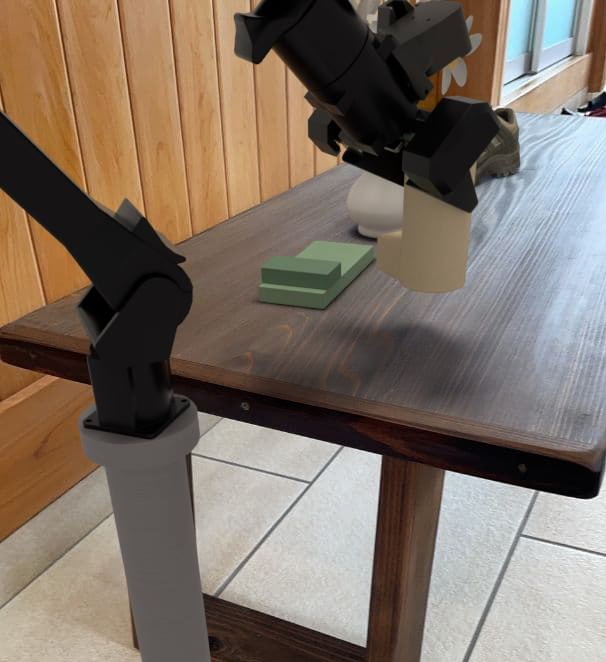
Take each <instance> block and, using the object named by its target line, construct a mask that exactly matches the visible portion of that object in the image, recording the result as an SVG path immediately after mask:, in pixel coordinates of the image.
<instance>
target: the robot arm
mask: <svg viewBox="0 0 606 662" xmlns="http://www.w3.org/2000/svg"><path fill="white" fill-rule="evenodd" d="M377 15H378V17H377V33H373V32H372V30H371V29H370V28H369V26H368V25H367V24H366V23H365V21H364V20H363V19H362V17H361V16H360V15H359V13H358V12H357V11H356V9H355V8H354V7H353V5H352V4H351V3H350V1H349V0H260V1H259V3H258V4H257V5H256V6H255V8H254V9H253V10H251V11H249V12H235V13H234V14H233V17H232V18H233V22H234V26H235V34H234V45H233V53H234V55H235V56H236V57H237V58H239V59H242V60H244V61H246V62H248V63H250V64H254V65H257V66H258V65H260V64H261V63H263V61H264V59H265V58H266V57H267V55H268V54H269V53H270V52H271V50H272V51H273V52H274V53H275V55H276V56H277V58H279V59H280V60H281V61H282V63H283V64H284V65H285V66H286V67H287V69H288V70H290V72H291V73H292V74H293V75H294V76H295V77H296V79H297V80H298V81H299V82H300V83H301V85H302V86H303V87H304V88H305V89H306V90H307V92H306V93H305V94H304V96H303V98H304V99H305V100H306V102H307V103H308V104H309V105H310V106H311V108H315V109H314V110H313V111H312V113H311V114H310V116H309V117H308V118H307V138H309V140H310V141H311V142H312V143H313V144H314V146H315V147H317V148H318V149H319V151H320V152H321V153H324V154H326V155H330V156H332V157H335V158H337V157H338V156H339V155H340V153H341V152H342V150H341V146H340V145H339V144H341V145H342V146H343V148H344V149H345V150H344V152H343V153H342V156H341V160H342V161H343V163H345V164H348V165H350V166H353V167H355V168H357V169H359V170H362V171H363V172H364V171H367V172H369V173H371V174H374V175H376V176H378V177H381V178H383V179H385V180H388V181H390V182H393V183H395V184H397V185H399V186H402V187H404V177H405V174H406V175H407V176H408V177H409V179H408V180H407V182H406V183H405V184H406V185H407V186H409V187H411V188H414V189H416V190H418V191H420V192H422V193H425V194H427V195H429V196H432V197H434V198H436V199H438V200H440V201H443V202H445V203H447V204H449V205H451V206H454V207H456V208H458V209H460V210H463V211H465V212H467V213H471V212H472V213H473V211H474V210H475V209H476V208H477V206H478V204H479V199H478V195H477V192H476V191H477V190H476V188H475V185H474V183H473V180H472V176H471V172H470V169H471V167H472V166H473V165H474V163H475V162H476V161H477V159H478V158H479V157H480V156H481V154H482V153H483V152H484V150H485V149H486V148H487V146H488V145H489V144H490V142H491V141H492V140H493V139H494V137H495V136H496V135H497V133H498V132H499V131H500V127H501V121H500V120H499V118H498V117H497V115H496V114H495V112H494V111H495V110H493V107H492V108H491V106H490V105H489V104H488V103H489V102H488V101H487V102H485V101H486V100H480V99H475V98H472V97H471V98H470V97H466V96H461V95H450V96H443V97H441V99H440V100H439V101H438V102H437V104H436V105H435V107H434V108H433V109H432V110H428V109H424V108H420V107H419V105H418V104H419V103H420V102H421V101H425V100H427V98H428V97H429V95H430V93H431V92H432V91H433V90H434V88H435V85H434V84H433V82H432V81H431V80H430V78H431V77H432V76H435V75H436V74H437V73H439V72H440V71H442V70H443V68H444V67H446V66H447V65H448V64H450V63H451V62H453V61H454V60H456V59H457V58H458V57H460V58H461V59H463V58H465V57H467V56H468V55H467V54H469V53H470V52H471V50H472V44H471V40H470V36H471V35H470V33H469V32H470V31H469V32H468V28H467V24H466V20H467V19H466V17H465V12H464V9H463V5H462V2H460V1H455V0H454V1H452V0H430V1H427V0H426V1H417V2H416V3H414V6H413V5H412V4H411V3H410V1H409V2H408V1H407V0H385V1H384V2H382V3H380V6H378V10H377ZM466 55H467V56H466ZM469 55H470V54H469ZM405 142H406V143H408V144H407V146H406V147H405ZM0 190H1V191H2V192H4V193H5V194H6V195H7V196H8V197H9V198H10V199H11V200H12V201H13V202H15V203H16V204H17V205H18V206H19V207H20V208H21V209H22V210H23V211H24V212H26V213H27V214H28V215H29V216H30V217H31V218H32V219H33V220H34V221H36V222H37V223H38V224H39V225H40V226H41V227H42V228H43V229H45V230H46V231H47V232H48V233H49V234H50V235H51V236H52V237H53V238H54V239H56V240H57V241H58V242H59V243H60V244H61V245H62V246H63V247H64V248H65V249H66V251H67V252H68V253H69V255H70V256H71V257H72V258H73V260H74V261H75V262H76V264H77V265H78V266H79V268H80V269H81V270H82V271H83V273H84V274H85V276H86V277H87V278H88V280H89V281H90V282H91V284H90V285H89V287H88V289H86V291H85V293H84V294H83V295H82V296H81V297H80V299H79V301H78V302H77V303H76V304H75V306H74V311H75V313H76V315H77V317H78V319H79V321H80V323H81V325H82V326H83V329H84V331H85V333H86V334H87V336H88V338H89V340H90V342H91V343H90V344H89V345H88V351H89V354H88V355H86V362H87V367H88V372H89V377H90V383H91V384H90V385H91V389H92V395H93V400H94V403H95V405H96V410H95V411H94V412H93V413H92V414H90V415H89V416H88V417H87V418H85V419H84V420H83V427H84V428H87V429H93V430H98V431H104V432H109V433H114V434H120V435H125V436H131V437H136V438H142V439H147V440H151V439H155V438H156V437H157V436H158V435H159V434H161V433H162V432H163V431H164V430H165V429H166V428H167V427H168V426H169V425H170V424H171V423H172V422H174V421H175V420H176V419H177V418H178V417H179V416H180V415H181V414H182V413H183V412H184V411H185V410H186V409H188V408H189V407H190V405H191V404H190V400H191V399H190V398H189V399H187V398H182V397H176V396H173V392H175V391H174V384H173V376H172V375H173V374H172V369H171V361H170V358H171V355H172V351H173V347H174V342H175V338H176V334H177V330H178V327H179V326H180V325H181V324H183V323H184V321H185V319H186V318H187V317H188V315H189V314H190V311H191V308H192V306H193V301H194V297H193V296H194V293H193V292H194V285H193V283H192V280H191V278H190V276H189V275H188V274H187V272H186V271H185V269H184V268H183V267H182V266H181V265H180V264H183V263H185V262H186V261H187V257H186V256H185V255H184V254H183V253H182V252H181V251H180V250H179V248H177V246H176V245H174V243H173V242H172V241H171V240H170V239H169V238H168V237H167V236H166V235H165V234H164V233H163V232H161V231H159V230H156V229H154V227H153V226H152V224H151V223H150V221H149V220H148V218H147V217H146V216H145V215H143V214H142V212H141V211H140V210H139V209H138V208H137V207H136V206H135V205H134V204H133V203H132V201H130V199H129V198H127V197H124V198H123V200H122V202H121V204H120V206H118V208H117V210H116V211H114V210H112V209H110V208H109V207H108V206H106V205H104V204H103V203H101V202H99V201H98V200H97V199H95V198H94V197H92V196H91V195H90V194H88V193H87V191H85V190H84V189H83V188H82V187H81V186H80V184H78V183H77V182H76V181H75V179H73V178H72V177H71V175H69V174H68V173H67V172H66V171H65V170H64V169H63V168H62V167H61V166H60V165H59V164H58V163H57V162H56V161H55V160H53V159H52V158H51V156H49V154H48V153H47V152H46V151H44V149H42V147H41V146H39V145H38V144H37V143H36V142H35V141H34V140H33V139H32V138H31V137H30V136H29V135H28V134H27V133H26V132H25V131H24V130H23V128H21V127H20V126H19V125H18V124H17V123H16V122H15V121H14V120H13V119H12V118H11V117H10V116H9V115H8V114H7V113H6V112H4V110H3V109H1V108H0Z"/></svg>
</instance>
